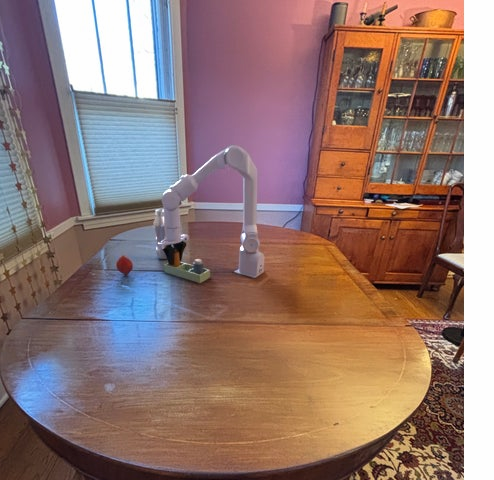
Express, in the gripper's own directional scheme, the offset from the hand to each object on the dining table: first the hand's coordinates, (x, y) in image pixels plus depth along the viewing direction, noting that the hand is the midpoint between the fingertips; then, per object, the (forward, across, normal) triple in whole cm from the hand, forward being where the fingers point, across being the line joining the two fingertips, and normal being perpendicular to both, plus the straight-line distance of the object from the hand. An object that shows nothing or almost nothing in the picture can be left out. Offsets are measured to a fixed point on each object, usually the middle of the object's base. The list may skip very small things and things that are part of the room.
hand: (175, 262), depth 114 cm
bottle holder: (+4, 0, +6) cm, 7 cm away
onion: (+4, +13, -13) cm, 19 cm away
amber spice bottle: (+2, 0, 0) cm, 2 cm away
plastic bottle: (+4, -9, -14) cm, 17 cm away
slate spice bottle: (+3, 0, +11) cm, 12 cm away
